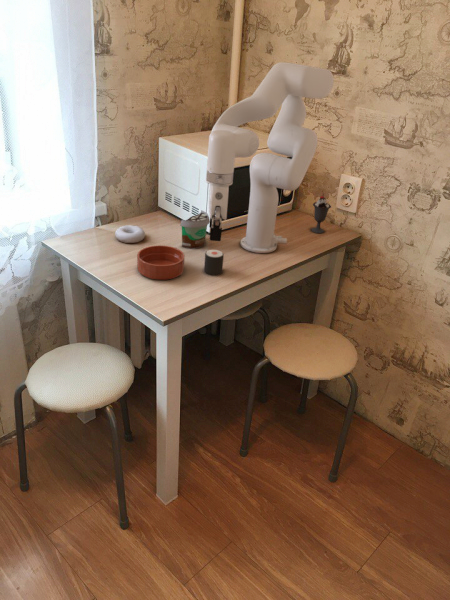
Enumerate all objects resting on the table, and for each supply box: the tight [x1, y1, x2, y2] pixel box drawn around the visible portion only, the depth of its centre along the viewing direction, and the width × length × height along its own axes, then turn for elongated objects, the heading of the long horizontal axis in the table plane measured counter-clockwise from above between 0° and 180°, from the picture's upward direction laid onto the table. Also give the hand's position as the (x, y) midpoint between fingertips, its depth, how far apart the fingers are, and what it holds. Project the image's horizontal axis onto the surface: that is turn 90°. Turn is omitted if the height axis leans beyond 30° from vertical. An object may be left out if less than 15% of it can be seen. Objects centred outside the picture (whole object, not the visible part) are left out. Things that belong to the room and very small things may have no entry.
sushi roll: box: [203, 249, 225, 276], centre depth 157 cm, size 6×6×6 cm
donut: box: [114, 224, 146, 244], centre depth 174 cm, size 10×4×10 cm
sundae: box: [310, 190, 332, 234], centre depth 190 cm, size 7×7×15 cm
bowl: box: [136, 244, 185, 281], centre depth 155 cm, size 14×14×5 cm
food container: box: [180, 210, 210, 249], centre depth 172 cm, size 12×6×10 cm, turn 148°
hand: (214, 234), depth 152 cm, fingers open, 9 cm apart
